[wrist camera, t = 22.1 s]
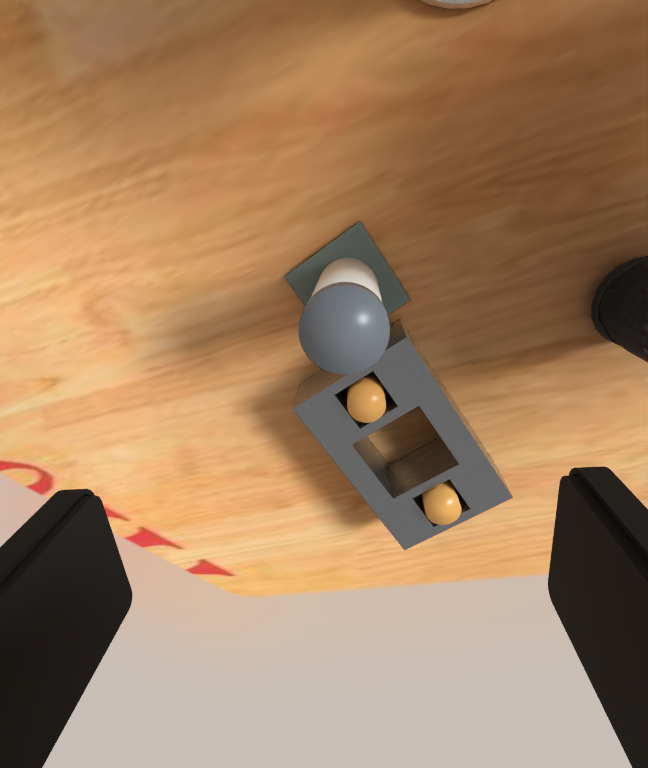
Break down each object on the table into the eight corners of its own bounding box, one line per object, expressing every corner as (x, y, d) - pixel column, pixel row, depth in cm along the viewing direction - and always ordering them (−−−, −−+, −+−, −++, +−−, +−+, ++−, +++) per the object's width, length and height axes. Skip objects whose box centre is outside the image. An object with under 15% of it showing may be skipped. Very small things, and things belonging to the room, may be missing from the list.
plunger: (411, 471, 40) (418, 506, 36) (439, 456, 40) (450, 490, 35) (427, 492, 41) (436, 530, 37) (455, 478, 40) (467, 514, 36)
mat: (285, 275, 35) (284, 277, 35) (360, 220, 33) (360, 221, 33) (336, 346, 37) (336, 348, 37) (409, 298, 35) (410, 300, 35)
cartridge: (313, 258, 34) (293, 289, 23) (377, 253, 34) (388, 282, 23) (319, 320, 36) (303, 376, 25) (380, 316, 35) (391, 371, 24)
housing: (300, 384, 39) (292, 408, 34) (400, 319, 36) (406, 337, 31) (399, 512, 43) (404, 550, 39) (495, 463, 41) (512, 497, 36)
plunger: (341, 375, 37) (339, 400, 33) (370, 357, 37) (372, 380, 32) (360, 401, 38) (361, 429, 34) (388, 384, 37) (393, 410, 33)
